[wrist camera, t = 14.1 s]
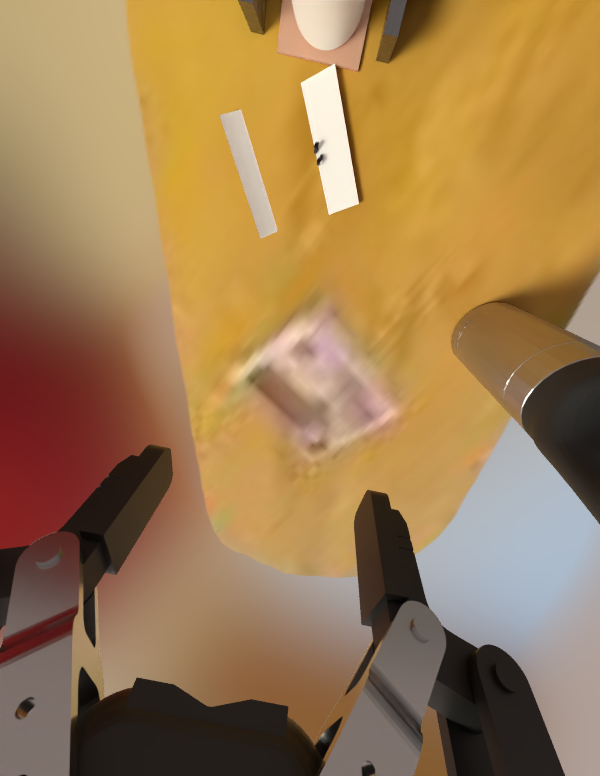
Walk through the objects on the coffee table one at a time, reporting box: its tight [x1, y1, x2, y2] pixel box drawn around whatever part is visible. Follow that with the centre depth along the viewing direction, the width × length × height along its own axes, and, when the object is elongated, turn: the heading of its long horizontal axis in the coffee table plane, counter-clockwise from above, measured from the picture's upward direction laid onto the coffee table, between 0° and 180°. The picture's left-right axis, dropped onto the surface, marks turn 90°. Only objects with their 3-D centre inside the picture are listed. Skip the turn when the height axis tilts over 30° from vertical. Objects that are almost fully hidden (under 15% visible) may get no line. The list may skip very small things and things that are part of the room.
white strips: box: [220, 64, 359, 239], centre depth 31 cm, size 12×12×2 cm
